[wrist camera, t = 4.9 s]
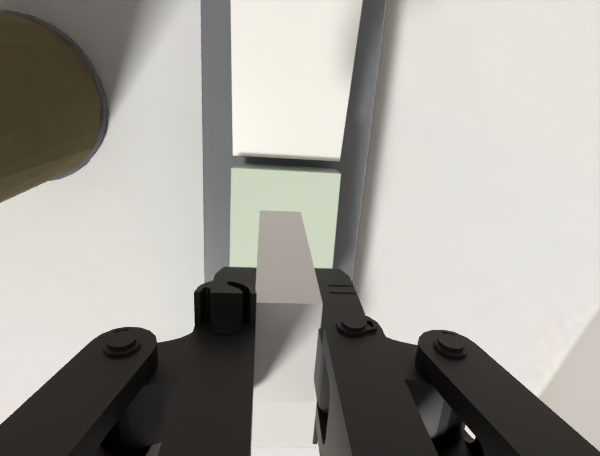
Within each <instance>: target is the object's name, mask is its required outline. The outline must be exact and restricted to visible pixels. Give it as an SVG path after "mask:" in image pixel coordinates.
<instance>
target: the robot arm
mask: <svg viewBox="0 0 600 456" xmlns="http://www.w3.org/2000/svg"><path fill="white" fill-rule="evenodd" d="M194 311H195V327H194V330H193V332H192V333H190V334H189V335H186V336H184V337H182V338H178V339H175V340H170V341H165V342H160V343H157V341H156V336H155V335H154V334H153V333H152V332H150V331H149V330H146V329H143V328H140V327H122V328H117V329H113V330H111V331H108V332H106V333H103V334H101V335H99V336H98V337H96V338H95V339H93V340H92V341H91V342H90V343H89V344H88V345H87V346H85V347H84V348H83V349H82V350H81V351H80V352H79V353H78V354H77V355H76V356H75V357H73V358H72V359H71V360H70V361H69V362H68V363H67V364H66V365H65V366H64V367H63V368H62V369H60V370H59V371H58V372H57V373H56V374H55V375H54V376H53V377H52V378H51V379H50V380H48V381H47V382H46V383H45V384H44V385H43V386H42V387H41V388H40V389H39V390H38V391H37V392H35V393H34V394H33V395H32V396H31V397H30V398H29V399H28V400H27V401H26V402H25V403H23V404H22V405H21V406H20V407H19V408H18V409H17V410H16V411H15V412H14V413H13V414H12V415H10V416H9V417H8V418H7V419H6V420H5V421H4V422H3V423H2V424H1V425H0V456H157V455H158V456H251V440H252V415H253V402H313V400H314V390H315V392H316V398H317V404H316V414H315V424H314V434H313V444H317V442H318V445H319V453H320V456H600V452H599V451H598V450H597V449H596V448H595V447H594V446H592V445H591V444H590V443H589V442H588V441H587V440H585V439H584V438H583V437H582V436H581V435H580V434H579V433H578V432H576V431H575V430H574V429H573V428H572V427H571V426H569V425H568V424H567V423H566V422H565V421H564V420H563V419H561V418H560V417H559V416H558V415H557V414H556V413H555V412H553V411H552V410H551V409H550V408H549V407H548V406H547V405H545V404H544V403H543V402H542V401H541V400H540V399H538V398H537V397H536V396H535V395H534V394H533V393H532V392H530V391H529V390H528V389H527V388H526V387H525V386H524V385H522V384H521V383H520V382H519V381H518V380H517V379H516V378H514V377H513V376H512V375H511V374H510V373H509V372H507V371H506V370H505V369H504V368H503V367H502V366H501V365H499V364H498V363H497V362H496V361H495V360H494V359H493V358H491V357H490V356H489V355H488V354H487V353H486V352H485V351H483V350H482V349H481V348H480V347H479V346H478V345H476V344H475V343H474V342H472V341H471V340H469V339H468V338H466V337H464V336H462V335H459V334H457V333H455V332H452V331H447V330H431V331H428V332H425V333H423V334H422V335H421V336H420V337H419V341H418V345H413V344H409V343H404V342H399V341H396V340H392V339H389V338H387V337H385V335H384V332H383V330H382V328H381V327H380V325H379V324H378V323H377V322H376V321H375V320H373V319H371V318H370V317H368V316H365V313H364V311H363V308H362V306H361V303H360V301H359V298H358V296H357V295H356V291H355V289H354V287H353V284H352V281H351V279H350V276H348V275H347V274H346V273H345V272H343V271H342V270H341V269H334V268H314V265H313V261H312V257H311V253H310V249H309V244H308V240H307V236H306V232H305V228H304V224H303V219H302V215H301V212H290V211H266V210H260V219H259V236H258V253H257V268H255V267H223V268H222V269H220V270H219V271H218V272H217V273H216V274H215V276H214V279H213V281H209V282H206V283H204V284H202V285H200V286H199V287H198V288H197V289H196V290H195V292H194ZM465 424H466V425H467V427H468V428H469V429H470V430H471V431H472V432H473V434H474V435H475V436H476V438H475V440H474V439H473V438H472V437H471V436H470V435H469V434H468V433H467V432H466V431H465V430H464V428H465Z"/></svg>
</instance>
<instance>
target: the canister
mask: <svg viewBox="0 0 600 456" xmlns="http://www.w3.org/2000/svg"><path fill="white" fill-rule="evenodd" d="M106 118H107V106H106V99H105V93H104V91H103V88H102V85H101V82H100V79H99V77H98V75H97V74H96V72H95V70H94V68H93V66H92V64H91V62H90V60H89V59H88V58H87V57H86V55H85V54H84V53H83V52H82V50H81V49H80V48H79V47H78V45H77V44H75V43H74V42H73V41H72V40H71V39H70V38H69V37H68V36H66V35H65V34H64V33H62V32H61V31H60V30H58V29H57V28H56V27H54V26H52V25H50V24H48V23H46V22H44V21H42V20H40V19H38V18H36V17H34V16H30V15H27V14H22V13H18V12H12V11H0V203H1V202H3V201H5V200H7V199H10V198H12V197H14V196H16V195H18V194H20V193H23V192H25V191H27V190H29V189H31V188H33V187H36V186H38V185H40V184H42V183H44V182H47V181H51V180H57V179H61V178H64V177H66V176H69V175H71V174H73V173H75V172H76V171H78V170H79V169H81V168H82V167H83V166H85V165H86V164H87V163H88V162H89V160H90V159H91V158H92V157H93V155H94V154H95V153H96V151H97V150H98V148H99V147H100V145H101V143H102V140H103V136H104V133H105V130H106Z"/></svg>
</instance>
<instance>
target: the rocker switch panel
mask: <svg viewBox="0 0 600 456" xmlns="http://www.w3.org/2000/svg"><path fill="white" fill-rule="evenodd" d="M386 4H387V0H363V2H362V9H361V16H360V23H359V30H358V37H357V44H356V51H355V58H354V65H353V72H352V79H351V86H350V93H349V100H348V107H347V114H346V121H345V128H344V135H343V142H342V149H341V156H340V161H324V160H306V159H288V158H270V157H252V156H235V155H233V135H232V66H231V0H201V59H202V130H203V202H204V274H205V283H206V282H209V281H213V279H214V276H215V274H216V273H217V272H218V271H219V270H220V269H222V268H223V267H230V208H231V167H232V166H233V165H234V163H242V164H261V165H279V166H297V167H315V168H334V169H337V170H338V171H339V172H340V173H341V179H340V190H339V201H338V212H337V223H336V234H335V245H334V256H333V267H332V268H334V269H341V270H342V271H343V272H345V273H346V274H347V275H348V276H350V279H351V281H353V273H354V265H355V256H356V248H357V240H358V232H359V224H360V216H361V207H362V199H363V191H364V183H365V175H366V167H367V159H368V150H369V142H370V134H371V126H372V118H373V110H374V101H375V93H376V85H377V77H378V69H379V61H380V53H381V44H382V36H383V28H384V20H385V12H386Z"/></svg>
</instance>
